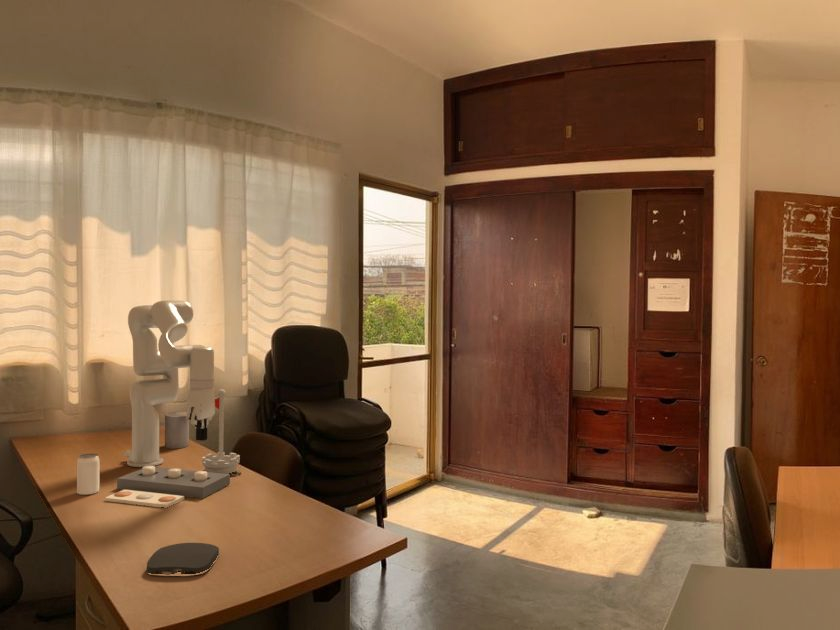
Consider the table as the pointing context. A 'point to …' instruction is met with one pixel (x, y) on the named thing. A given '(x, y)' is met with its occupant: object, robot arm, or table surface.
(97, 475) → the can
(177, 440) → the pillar candle
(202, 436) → the robot arm
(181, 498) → the pattern card
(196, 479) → the right button
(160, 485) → the button panel
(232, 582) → the table surface
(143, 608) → the table surface
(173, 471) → the middle button
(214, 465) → the flag stand
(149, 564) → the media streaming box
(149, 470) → the left button
